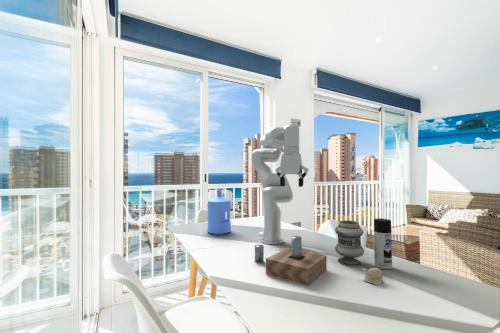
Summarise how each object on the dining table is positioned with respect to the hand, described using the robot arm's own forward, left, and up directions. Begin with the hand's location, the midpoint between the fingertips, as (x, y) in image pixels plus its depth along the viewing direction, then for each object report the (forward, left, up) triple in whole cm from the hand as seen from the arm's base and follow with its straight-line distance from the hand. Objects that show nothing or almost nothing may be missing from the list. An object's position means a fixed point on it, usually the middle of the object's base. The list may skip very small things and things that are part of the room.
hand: (291, 186), depth 124 cm
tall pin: (+11, -17, -33) cm, 39 cm away
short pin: (-8, -16, -33) cm, 38 cm away
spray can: (+38, +10, -34) cm, 52 cm away
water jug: (-61, +14, -34) cm, 71 cm away
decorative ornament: (+38, -8, -34) cm, 51 cm away
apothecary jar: (+25, +7, -34) cm, 42 cm away
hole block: (+11, -17, -33) cm, 39 cm away
